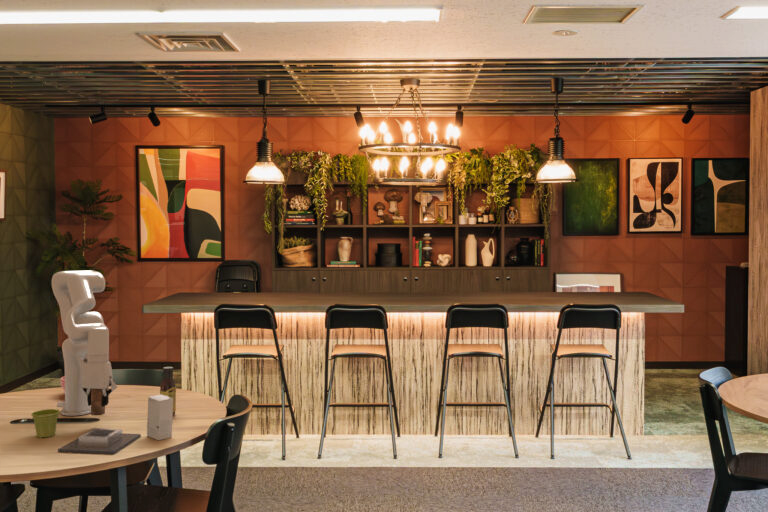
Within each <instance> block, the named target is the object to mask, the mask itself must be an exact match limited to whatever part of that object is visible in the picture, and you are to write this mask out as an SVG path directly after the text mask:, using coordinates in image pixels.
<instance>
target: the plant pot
mask: <svg viewBox="0 0 768 512" xmlns="http://www.w3.org/2000/svg"><path fill="white" fill-rule="evenodd" d="M59 413H61V410H59V409H57V408H56V409H54V408H50V409H48V408H47V409H40V410H37V411H36V410H35V411H33V412H31V417H32V419H33V424H34V427H35V435H36V437H37V438H38V439H39V438H40V439H42V438H51V437H53V436H55V435H56V433H57V432H56V431H57V430H56V429H57V423H58V417H59Z"/></svg>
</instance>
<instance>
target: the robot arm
mask: <svg viewBox="0 0 768 512" xmlns="http://www.w3.org/2000/svg"><path fill="white" fill-rule="evenodd" d="M105 288H106V279H105V277H104V275H103V274H102V272H100V271H96V270H93V269H91V270H90V269H89V270H85V269H82V270H81V269H80V270H61V271H58V272H56V273H53V275H52V278H51V289H52V292H53V295H54V297H55V300H56V301H57V303H58V305H59V310H60V311H59V312H60V317H61V324H62V329H63V332H64V333H65V334H66V335H67V338H66V339H64V341H63V342H62V344H61V348H62V349H61V350H62V357H63V362H64V363H63V364H64V376H65V391H64V401H57V404H56V408H62V410H60V414H61V415H63V416H67V417H75V416H76V417H77V416H83V415H88V414H91V389H102V391H103V395H104V396H102V406H103V407H104V406H105V407H106V406H108V404H109V395H110V394H112V392H114V391H115V390H116V389H117V388H118V386H117V385H116V383H115V382H114V381H113V369H112V363H111V361H109V360H110V353H109V351H110V349H109V348H110V331H109V330H110V329H109V328H108V327H107V326H106V324H105V321H104V317H103V315H102V314H101V313H100V311H99V312H98V311H96V310H95V311H91V310H92V309H94V308H95V306H96V302H97V301H96V299H95V295H94V293H102V292H104V290H105ZM84 360H86V361H84ZM109 387H110V388H109Z"/></svg>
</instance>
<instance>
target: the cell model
mask: <svg viewBox="0 0 768 512" xmlns="http://www.w3.org/2000/svg"><path fill="white" fill-rule="evenodd" d="M60 386H61V387H62V389H63V391H64V392H65V375H64V376H62V377H60Z"/></svg>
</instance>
